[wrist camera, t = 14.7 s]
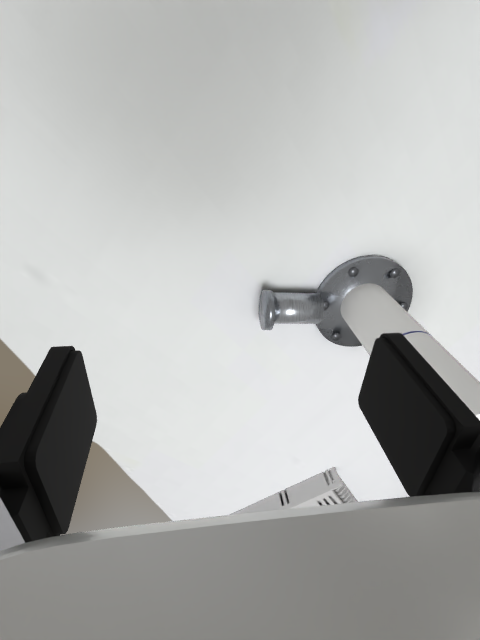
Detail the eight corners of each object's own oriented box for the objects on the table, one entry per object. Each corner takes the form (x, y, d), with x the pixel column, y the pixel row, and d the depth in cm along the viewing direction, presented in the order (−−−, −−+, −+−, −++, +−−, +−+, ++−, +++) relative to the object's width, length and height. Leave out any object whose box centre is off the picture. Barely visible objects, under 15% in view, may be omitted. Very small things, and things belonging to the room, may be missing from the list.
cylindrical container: (371, 273, 51) (502, 397, 30) (395, 304, 55) (527, 434, 34) (331, 305, 53) (427, 443, 32) (356, 333, 57) (458, 473, 35)
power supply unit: (361, 503, 87) (370, 524, 82) (243, 554, 92) (245, 576, 88) (333, 463, 77) (341, 485, 73) (202, 523, 82) (203, 546, 78)
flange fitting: (422, 257, 52) (445, 273, 48) (391, 342, 60) (408, 363, 55) (266, 251, 49) (274, 268, 44) (254, 342, 56) (260, 365, 52)
